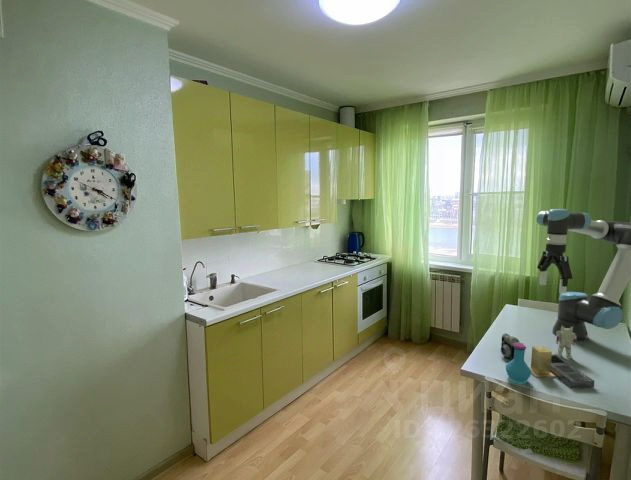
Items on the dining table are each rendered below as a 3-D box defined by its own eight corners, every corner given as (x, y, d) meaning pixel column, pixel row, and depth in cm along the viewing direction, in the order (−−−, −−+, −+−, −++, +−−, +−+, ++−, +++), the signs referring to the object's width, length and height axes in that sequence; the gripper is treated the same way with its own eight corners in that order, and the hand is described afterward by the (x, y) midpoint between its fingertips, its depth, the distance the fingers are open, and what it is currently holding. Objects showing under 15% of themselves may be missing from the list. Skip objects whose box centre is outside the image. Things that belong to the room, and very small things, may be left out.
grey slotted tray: (555, 360, 158) (556, 354, 158) (593, 388, 136) (594, 380, 136) (535, 360, 158) (536, 354, 158) (570, 388, 136) (571, 381, 136)
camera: (493, 349, 170) (494, 330, 169) (507, 349, 170) (508, 329, 169) (510, 364, 155) (512, 343, 154) (525, 364, 155) (527, 343, 154)
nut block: (542, 368, 151) (544, 346, 149) (549, 374, 146) (551, 351, 144) (530, 368, 151) (532, 346, 149) (537, 374, 146) (539, 352, 144)
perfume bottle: (500, 374, 148) (502, 340, 145) (520, 373, 148) (523, 339, 146) (514, 386, 138) (516, 351, 136) (535, 385, 139) (538, 349, 137)
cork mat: (543, 367, 152) (543, 366, 152) (555, 377, 144) (555, 376, 144) (524, 367, 152) (525, 366, 152) (536, 377, 144) (536, 376, 144)
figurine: (578, 358, 160) (581, 327, 158) (568, 362, 156) (571, 330, 154) (560, 351, 167) (562, 321, 165) (550, 355, 163) (552, 324, 161)
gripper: (531, 239, 170) (527, 281, 173) (567, 248, 145) (563, 297, 148) (546, 239, 169) (543, 281, 173) (585, 247, 145) (580, 296, 148)
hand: (552, 288), depth 160 cm, fingers open, 13 cm apart
